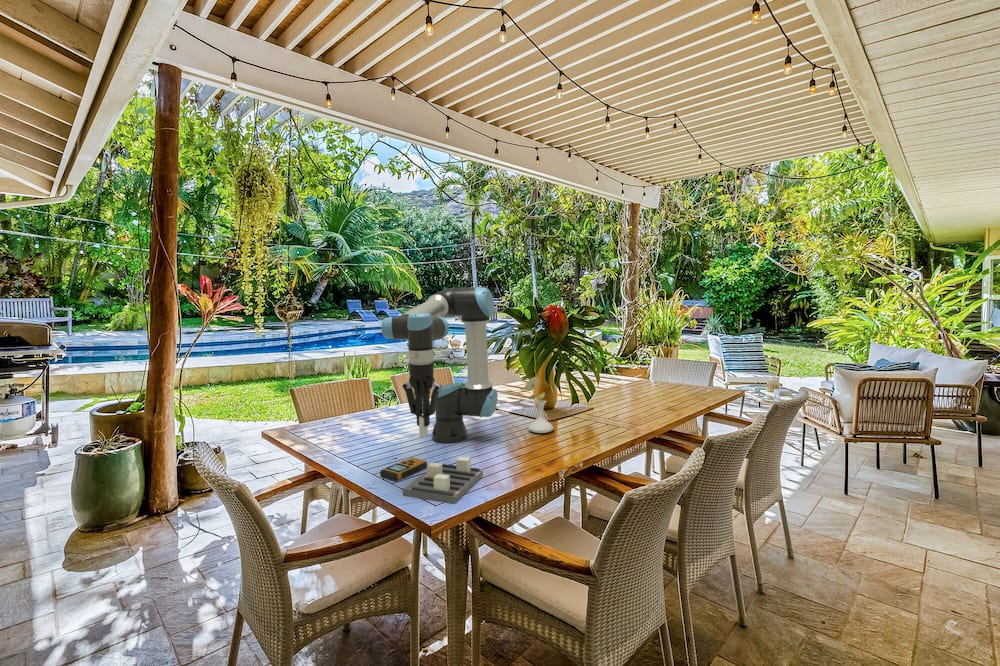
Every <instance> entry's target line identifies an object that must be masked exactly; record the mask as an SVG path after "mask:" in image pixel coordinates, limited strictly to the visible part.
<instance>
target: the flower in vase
mask: <svg viewBox="0 0 1000 666" xmlns="http://www.w3.org/2000/svg"><path fill="white" fill-rule="evenodd" d="M539 381H540V379H539V377H536V376H534V377H531V378H530V379H528V381H526V384H525V385H524V391H526V392H531V391H533V390H534V393H535V394H532V395H530V396H529V398H528V400H534V402H535V404H536V405H537V418H535V419H534V420H533V421H532V422H531V423H530V424H529V425H528V427H527V429H528V430H529V431H531V432H533V433H536V434H537V433H538V434H546V433H549V432H552V431H553V430H554V426H553V424H552V423H550V421H548V420H547V419H546V418H545V416H544V407H545V405H546V403H547V400H544V399H543V398H544V397H545V395H546V393H545V391H544V392H542V393H540V394H539V395H538V394H537V391H536V387H537V386H538V385H539ZM536 398H537V400H535V399H536Z"/></svg>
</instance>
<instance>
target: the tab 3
mask: <svg viewBox="0 0 1000 666" xmlns="http://www.w3.org/2000/svg"><path fill="white" fill-rule="evenodd" d="M455 461H456V463H455V464H456V465H455V466H456V471H461V472H468V473H469V472H470V471H471V468H472V463H471V462H472V459H471V457H465V456H459V457H458V458H456V459H455Z"/></svg>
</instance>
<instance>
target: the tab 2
mask: <svg viewBox="0 0 1000 666" xmlns="http://www.w3.org/2000/svg"><path fill="white" fill-rule="evenodd" d="M434 490H440V491H446V492H447V491H449V490H450V475H444V474H437V475H436V476H434Z"/></svg>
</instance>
